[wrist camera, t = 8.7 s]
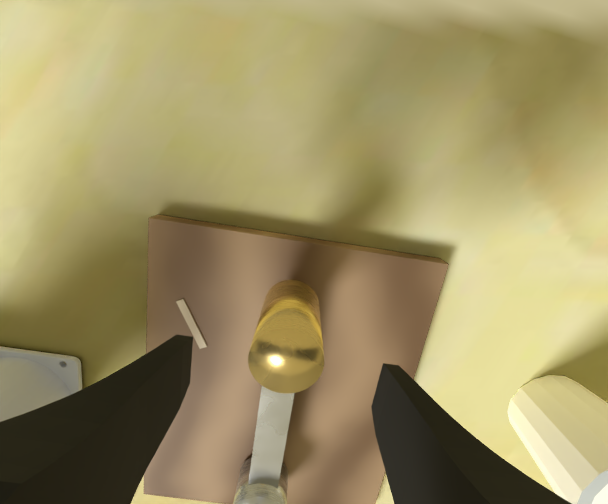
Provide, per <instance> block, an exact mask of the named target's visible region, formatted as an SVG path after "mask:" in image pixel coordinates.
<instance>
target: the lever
mask: <svg viewBox="0 0 608 504" xmlns="http://www.w3.org/2000/svg"><path fill="white" fill-rule="evenodd" d="M248 365H249V369H250V372H251V374H252V375H253V377H254V378H255V380H256V381H257V382H258V383H259V384H260V385H262V388H261V395H260V402H259V409H258V417H257V424H256V431H255V438H254V445H253V452H252V457H251V458H249V459H247V460H246V461H245V462H244V463H243V464H242V466H241V469H240V474H239V478H238V483H237V488H236V493H235V497H234V502H233V504H287V489H288V469H287V467H286V465H285V464H284V463H283V456H284V450H285V445H286V439H287V433H288V428H289V422H290V416H291V411H292V405H293V399H294V394H295V393H296V392H300V391H303V390H305V389H307V388H309V387H310V386H312V385H313V384H314V383H315V382H316V381H317V380H318V379H319V377H320V376H321V374H322V371H323V368H324V351H323V341H322V330H321V319H320V308H319V300H318V297H317V294H316V292H315V291H314V290H313V289H312V287H310V286H309V285H308V284H306V283H304V282H302V281H299V280H293V279H290V280H283V281H280V282H278V283H276V284H275V285H273V286H272V287H271V288H270V289H269V291H268V292H267V294H266V297H265V300H264V303H263V306H262V310H261V313H260V317H259V320H258V324H257V327H256V330H255V334H254V337H253V341H252V344H251V347H250V351H249V355H248Z"/></svg>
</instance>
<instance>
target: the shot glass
mask: <svg viewBox="0 0 608 504" xmlns="http://www.w3.org/2000/svg"><path fill="white" fill-rule="evenodd" d="M508 416H509V421H510V423H511V425H512V426H513V428H514V429H515V431H516V432H517V434H518V436H519V437H520V439H521V440H522V442H523V443H524V445H525V447H526V448H527V450H528V451H529V453H530V454H531V456H532V457H533V459H534V461H535V462H536V464H537V465H538V467H539V468H540V470H541V471H542V473H543V475H544V476H545V478H546V479H547V481H548V482H549V484H550V486H551V487H552V489H553V490H554V492H555V493H556V494H557V495H558V496H560V497H562V498H563V499H565V500H567V501H568V502H570V503H572V504H608V403H607V402H605V401H604V400H602V399H601V398H600V397H598V396H597V395H595V394H594V393H592V392H591V391H589V390H588V389H587V388H585V387H584V386H582V385H581V384H579V383H578V382H576V381H574V380H572V379H570V378H568V377H566V376H559V375H547V376H543V377H540V378H536V379H533V380H531V381H530V382H528V383H527V384H525V385H523V386H522V387H520V388H519V390H518V391H517V392H516V393H515V394H514V396H513V397H512V398H511V401H510V404H509V407H508Z"/></svg>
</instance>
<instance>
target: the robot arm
mask: <svg viewBox="0 0 608 504" xmlns="http://www.w3.org/2000/svg"><path fill="white" fill-rule="evenodd" d="M192 346H193V337H191V336H184V335H175V336H173V337H172V338H170V339H169V340H167V341H165V342H164V343H162V344H161V345H159V346H158V347H156V348H155V349H153V350H152V351H150V352H148V353H147V354H145V355H144V356H142V357H141V358H139V359H137V360H136V361H134V362H132V363H131V364H129V365H127V366H125V367H124V368H122V369H120V370H118V371H117V372H115V373H113V374H111V375H110V376H108V377H106V378H104V379H102V380H100V381H99V382H97V383H95V384H93V385H91V386H88V387H86V388H84V389H82V372H81V361H80V360H79V359H78V358H77V357H74V356H67V355H60V354H53V353H45V352H38V351H31V350H23V349H16V348H9V347H1V346H0V504H130V503H131V501H132V499H133V496H134V494H135V492H136V490H137V487H138V485H139V483H140V481H141V479H142V477H143V475H144V473H145V471H146V469H147V468H148V466H149V464H150V462H151V460H152V458H153V457H154V455H155V453H156V451H157V449H158V448H159V446H160V444H161V442H162V440H163V439H164V437H165V435H166V433H167V431H168V429H169V428H170V426H171V424H172V422H173V420H174V418H175V417H176V415H177V413H178V411H179V409H180V407H181V404H182V402H183V400H184V397H185V395H186V392H187V389H188V387H189V384H190V377H191V362H192ZM64 362H65V363H66V364H65V363H64ZM371 408H372V416H373V423H374V429H375V435H376V439H377V442H378V446H379V450H380V453H381V457H382V460H383V464H384V468H385V471H386V475H387V478H388V482H389V485H390V489H391V492H392V496H393V500H394V504H572V503H570V502H568V501H567V500H565V499H563V498H562V497H560V496H558V495H557V494H555V493H553V492H552V491H550V490H549V489H547V488H545V487H544V486H542V485H541V484H539V483H537V482H536V481H534V480H533V479H531V478H530V477H528V476H527V475H525V474H524V473H522V472H521V471H520V470H518V469H517V468H515V467H514V466H512V465H511V464H509V463H508V462H507V461H505V460H504V459H502V458H501V457H500V456H498V455H497V454H496V453H494V452H493V451H492V450H490V449H489V448H488V447H487V446H485V445H484V444H483V443H482V442H480V441H479V440H478V439H476V438H475V437H474V436H473V435H472V434H470V433H469V432H468V431H467V430H466V429H464V428H463V427H462V426H461V425H460V424H459V423H458V422H457V421H455V420H454V419H453V418H452V417H451V416H450V415H449V414H448V413H447V412H446V411H445V410H443V409H442V408H441V407H440V406H439V405H438V404H437V403H436V402H435V401H434V400H433V399H432V398H431V397H430V396H429V395H428V394H427V393H426V392H425V391H424V390H423V389H422V388H421V387H420V386H419V385H418V384H417V383H416V382H415V381H414V380H413V379H412V378H411V377H410V376H409V375H408V374H407V373H406V372H405V371H404V370H403V369H402V368H401V367H400V366H399V365H393V364H385V363H383V365H382V369H381V373H380V376H379V380H378V384H377V388H376V391H375V395H374V399H373V402H372V406H371Z"/></svg>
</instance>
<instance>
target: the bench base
mask: <svg viewBox="0 0 608 504" xmlns="http://www.w3.org/2000/svg"><path fill="white" fill-rule="evenodd" d="M448 265H449V264H447V263H446V262H445V261H443V260H442V259H441V258H435V257H428V256H422V255H415V254H409V253H403V252H396V251H390V250H383V249H377V248H370V247H364V246H358V245H351V244H345V243H338V242H332V241H326V240H319V239H313V238H306V237H300V236H293V235H287V234H281V233H274V232H268V231H261V230H255V229H248V228H242V227H236V226H229V225H223V224H216V223H210V222H204V221H197V220H191V219H184V218H178V217H171V216H165V215H159V214H158V215H155V216H152V217H150V218H149V228H148V284H147V339H146V354H147V353H148V352H150V351H152V350H153V349H155V348H156V347H158V346H159V345H161V344H162V343H164V342H165V341H167V340H169V339H170V338H172V337H173V336H175V335H184V336H191V337H193V346H192V362H191V377H190V384H189V387H188V389H187V392H186V395H185V397H184V400H183V402H182V404H181V407H180V409H179V411H178V413H177V415H176V417H175V418H174V420H173V422H172V424H171V426H170V428H169V429H168V431H167V433H166V435H165V437H164V439H163V440H162V442H161V444H160V446H159V448H158V449H157V451H156V453H155V455H154V457H153V458H152V460H151V462H150V464H149V466H148V468H147V469H146V471H145V473H144V494H148V495H157V496H165V497H173V498H182V499H190V500H198V501H207V502H215V503H223V504H233V502H234V497H235V493H236V488H237V483H238V478H239V474H240V469H241V466H242V464H243V463H244V462H245V461H246V460H247V459H249V458H251V457H252V452H253V445H254V438H255V431H256V424H257V417H258V409H259V402H260V395H261V388H262V385H260V384H259V383H258V382H257V381H256V380H255V378H254V377H253V375H252V374H251V372H250V369H249V365H248V355H249V351H250V347H251V344H252V341H253V337H254V334H255V330H256V327H257V324H258V320H259V317H260V313H261V310H262V306H263V303H264V300H265V297H266V294H267V292H268V291H269V289H270V288H271V287H272V286H273V285H275V284H276V283H278V282H280V281H283V280H290V279H293V280H299V281H302V282H304V283H306V284H308V285H309V286H310V287H312V289H313V290H314V291H315V292H316V294H317V297H318V300H319V308H320V319H321V330H322V341H323V351H324V368H323V371H322V374H321V376H320V377H319V379H318V380H317V381H316V382H315V383H314V384H313V385H312V386H310V387H309V388H307V389H305V390H303V391H300V392H296V393H295V394H294V399H293V405H292V411H291V416H290V422H289V428H288V433H287V439H286V445H285V450H284V456H283V463H284V464H285V465H286V467H287V469H288V489H287V504H375V503H376V500H377V497H378V494H379V490H380V487H381V484H382V480H383V477H384V474H385V468H384V464H383V460H382V457H381V453H380V450H379V446H378V442H377V439H376V435H375V429H374V423H373V416H372V408H371V406H372V402H373V399H374V395H375V391H376V388H377V384H378V380H379V376H380V373H381V369H382V365H383V363H385V364H393V365H399V366H400V367H401V368H402V369H403V370H404V371H405V372H406V373H407V374H408V375H409V376H410V377H411V378H412V379H414V376H415V373H416V370H417V366H418V363H419V360H420V357H421V353H422V350H423V347H424V344H425V340H426V337H427V334H428V331H429V327H430V324H431V321H432V317H433V314H434V311H435V308H436V304H437V301H438V298H439V295H440V291H441V288H442V285H443V282H444V278H445V275H446V272H447V269H448Z"/></svg>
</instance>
